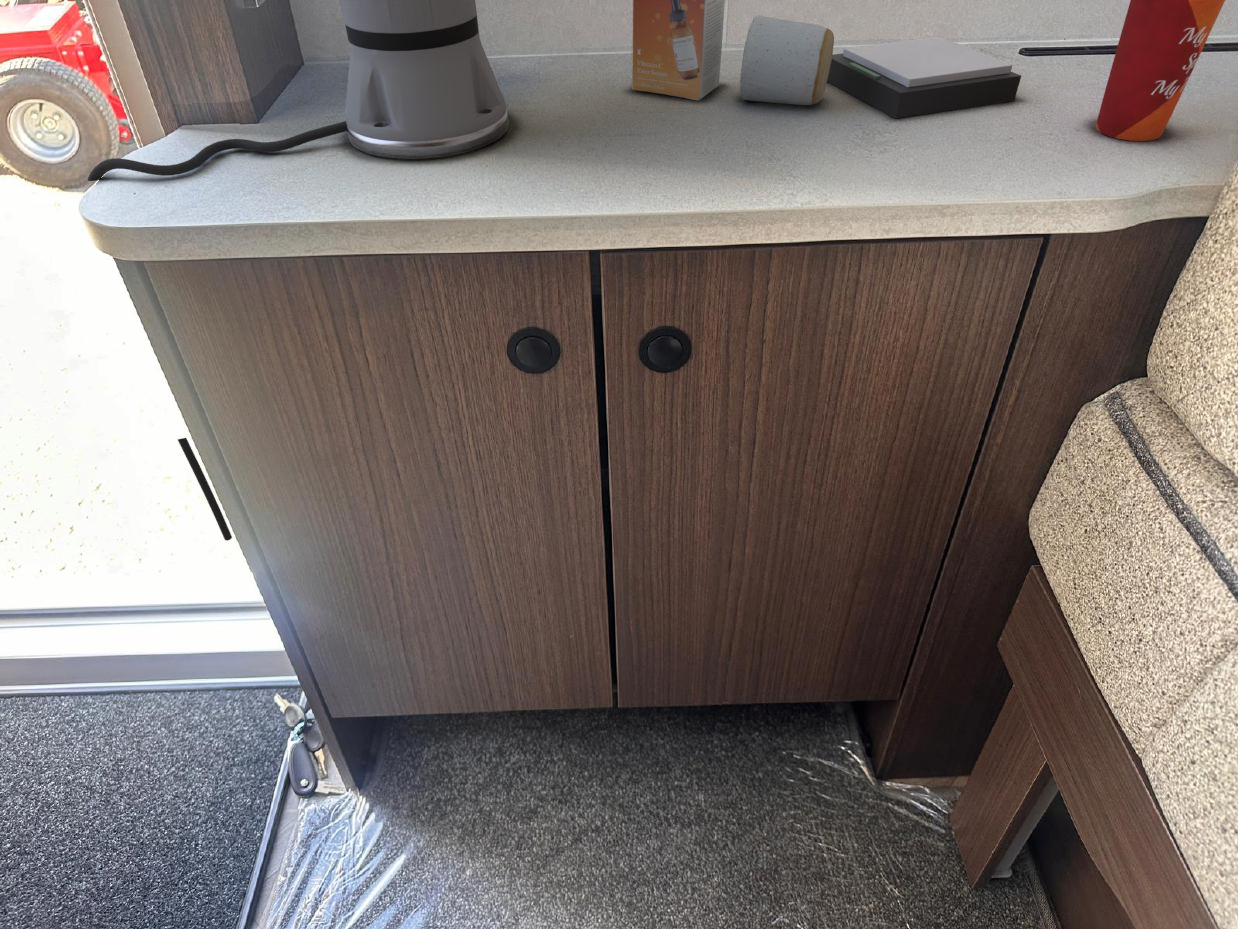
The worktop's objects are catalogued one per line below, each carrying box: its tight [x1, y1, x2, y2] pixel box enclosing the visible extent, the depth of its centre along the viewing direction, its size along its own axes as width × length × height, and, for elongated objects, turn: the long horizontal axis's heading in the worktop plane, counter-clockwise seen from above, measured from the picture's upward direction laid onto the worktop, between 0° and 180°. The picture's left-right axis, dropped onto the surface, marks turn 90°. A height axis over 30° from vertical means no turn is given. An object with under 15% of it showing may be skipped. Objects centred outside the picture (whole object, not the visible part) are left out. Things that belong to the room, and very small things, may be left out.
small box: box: [631, 0, 726, 101], centre depth 86 cm, size 8×6×10 cm
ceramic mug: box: [739, 15, 835, 106], centre depth 84 cm, size 11×8×8 cm
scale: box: [827, 36, 1022, 119], centre depth 87 cm, size 14×14×3 cm
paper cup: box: [1095, 0, 1226, 142], centre depth 73 cm, size 8×8×14 cm
